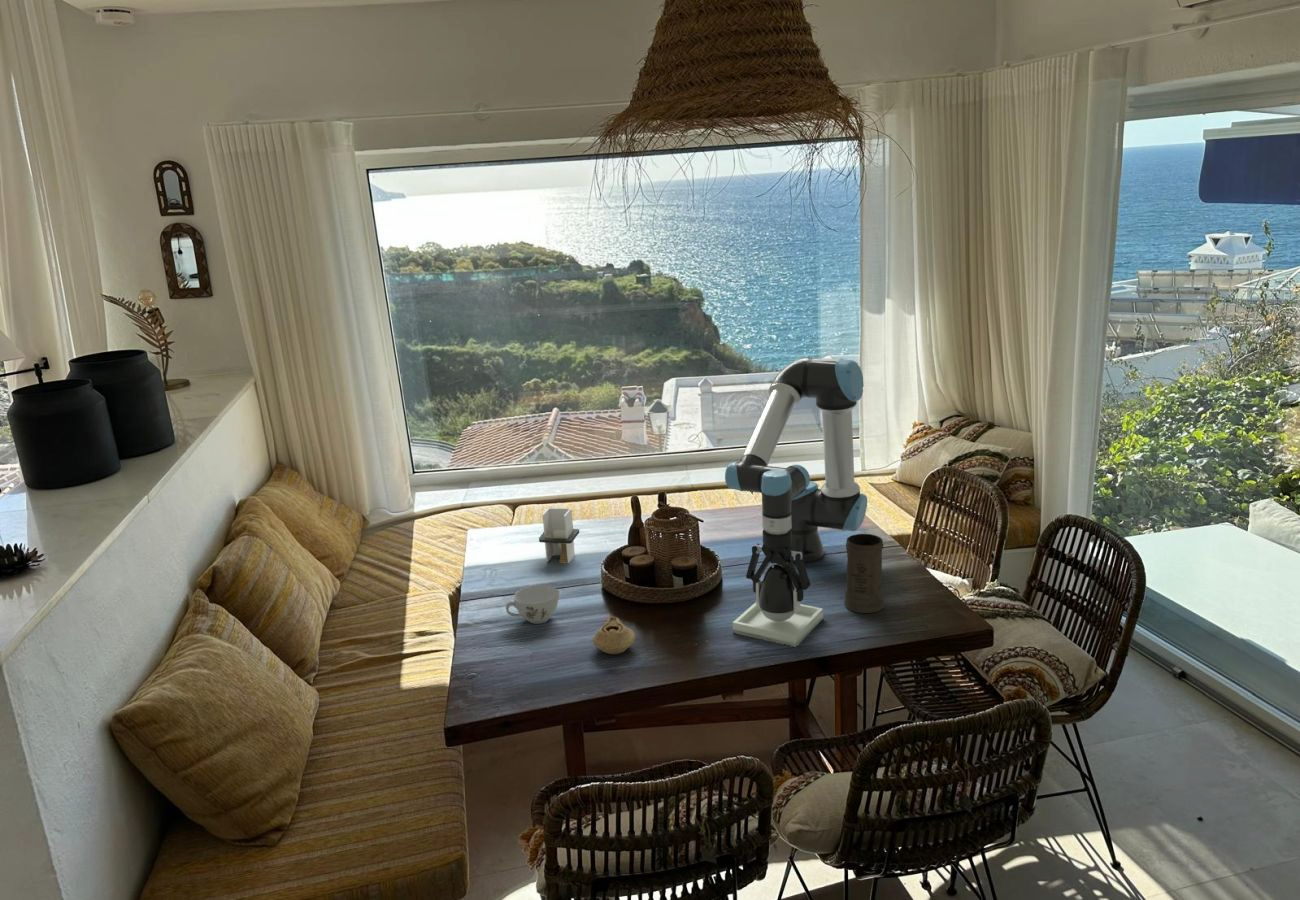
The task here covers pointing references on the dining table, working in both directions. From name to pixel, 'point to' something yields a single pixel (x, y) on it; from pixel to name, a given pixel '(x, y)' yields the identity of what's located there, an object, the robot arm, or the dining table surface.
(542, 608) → the teacup
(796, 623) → the tray
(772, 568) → the dark grey rounded piece
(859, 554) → the beer stein
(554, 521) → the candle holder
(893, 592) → the dining table surface
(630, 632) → the oil lamp
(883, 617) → the dining table surface
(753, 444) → the robot arm
